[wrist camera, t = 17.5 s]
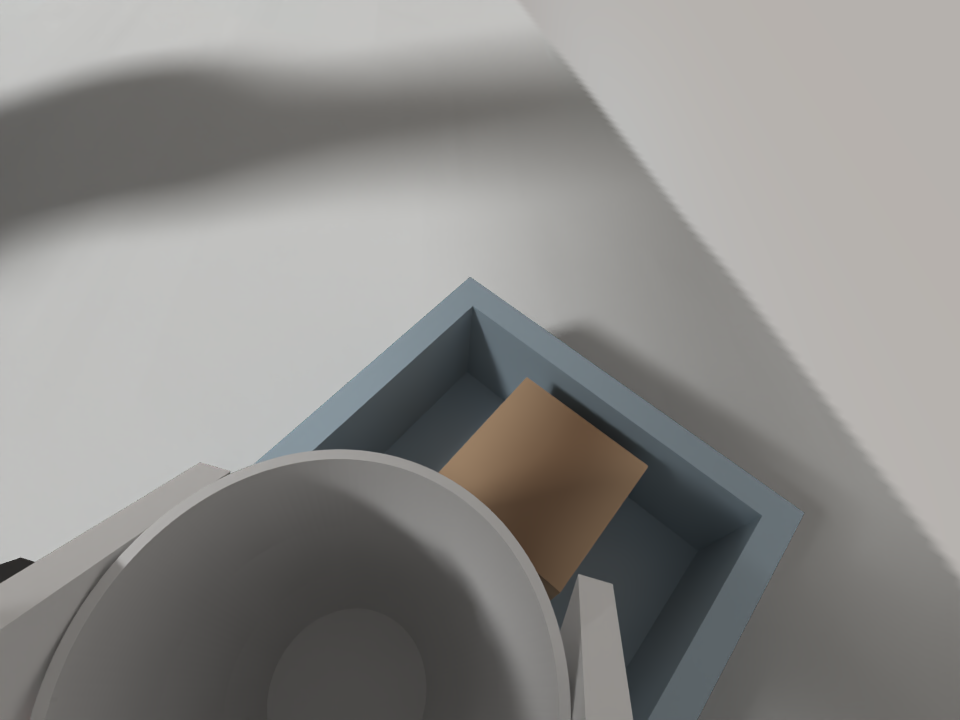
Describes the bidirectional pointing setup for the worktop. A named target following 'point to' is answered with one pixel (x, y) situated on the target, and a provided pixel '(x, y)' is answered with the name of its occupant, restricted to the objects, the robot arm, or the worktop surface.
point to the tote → (638, 522)
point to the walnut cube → (546, 479)
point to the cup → (316, 606)
